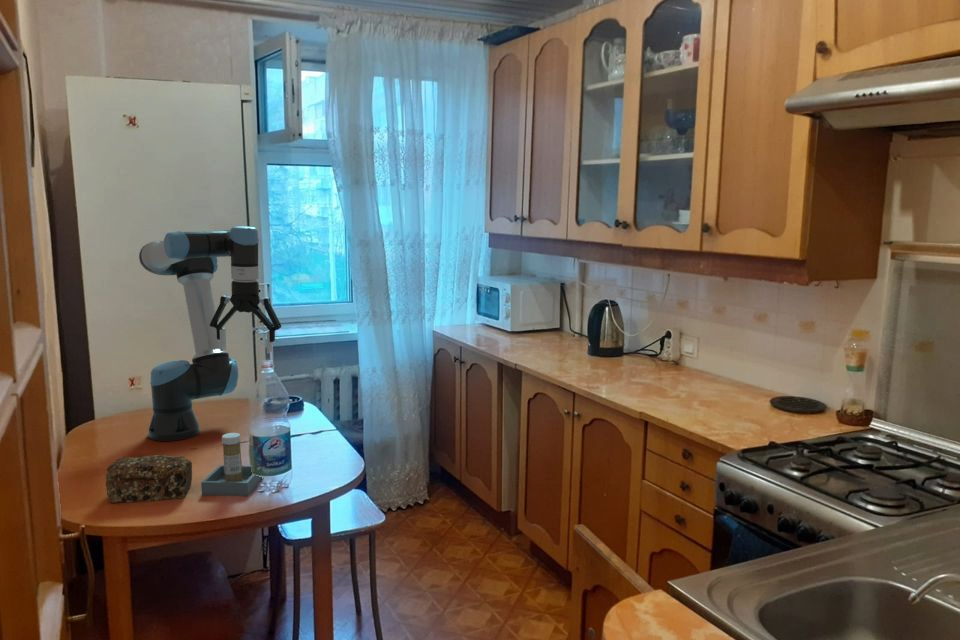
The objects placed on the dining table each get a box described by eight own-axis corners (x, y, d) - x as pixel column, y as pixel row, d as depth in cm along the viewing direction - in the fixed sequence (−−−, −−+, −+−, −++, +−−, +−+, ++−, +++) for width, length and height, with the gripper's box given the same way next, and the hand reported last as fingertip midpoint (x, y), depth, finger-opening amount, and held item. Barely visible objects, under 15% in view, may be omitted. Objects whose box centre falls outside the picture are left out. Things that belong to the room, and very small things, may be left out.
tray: (201, 495, 180) (201, 482, 179) (220, 477, 192) (219, 465, 191) (248, 495, 180) (247, 482, 179) (263, 477, 191) (263, 465, 191)
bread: (106, 505, 174) (102, 467, 172) (119, 489, 184) (116, 452, 182) (185, 500, 177) (183, 462, 176) (194, 484, 188) (192, 448, 186)
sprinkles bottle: (243, 479, 188) (240, 431, 186) (242, 486, 184) (239, 436, 182) (225, 481, 187) (222, 432, 185) (223, 487, 183) (220, 438, 181)
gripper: (196, 280, 199) (198, 352, 203) (284, 284, 199) (285, 356, 204) (206, 276, 207) (208, 346, 211) (291, 280, 207) (291, 350, 211)
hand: (246, 351), depth 207 cm, fingers open, 13 cm apart
